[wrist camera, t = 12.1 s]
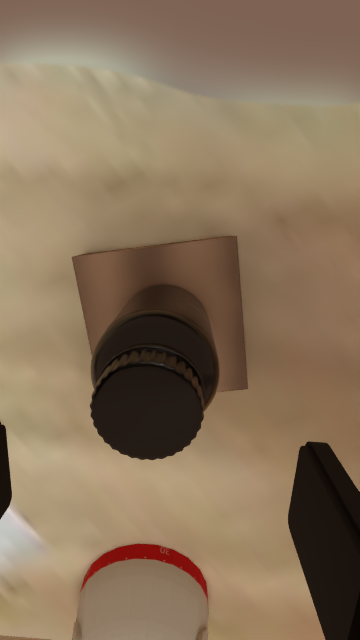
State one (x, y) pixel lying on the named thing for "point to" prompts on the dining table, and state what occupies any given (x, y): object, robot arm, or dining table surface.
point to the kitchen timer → (142, 597)
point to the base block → (179, 270)
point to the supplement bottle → (154, 373)
